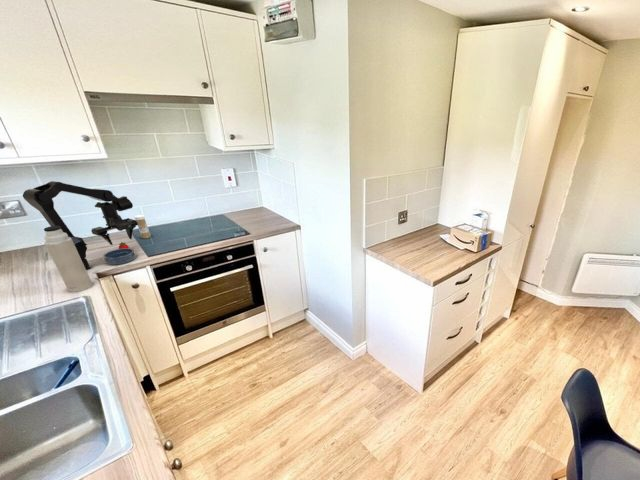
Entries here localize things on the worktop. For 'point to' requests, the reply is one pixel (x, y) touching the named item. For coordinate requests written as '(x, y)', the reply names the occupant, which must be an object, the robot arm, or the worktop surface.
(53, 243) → the thermos bottle
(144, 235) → the sprinkles bottle
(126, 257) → the bowl
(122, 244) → the strawberry
